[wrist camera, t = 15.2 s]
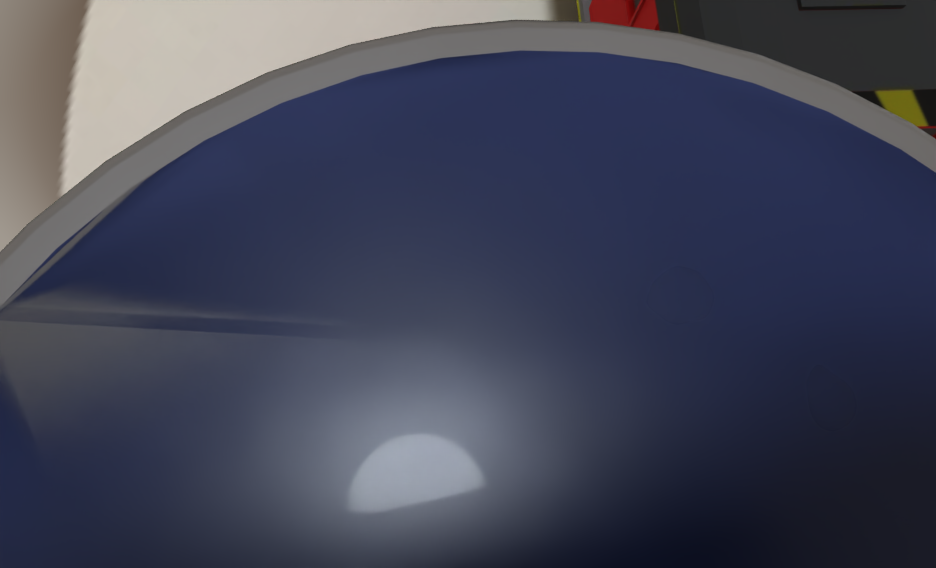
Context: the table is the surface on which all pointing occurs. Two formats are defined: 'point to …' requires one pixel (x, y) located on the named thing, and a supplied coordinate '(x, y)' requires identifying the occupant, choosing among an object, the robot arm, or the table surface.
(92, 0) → the table surface
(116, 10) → the table surface
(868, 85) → the toy train
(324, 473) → the tin
